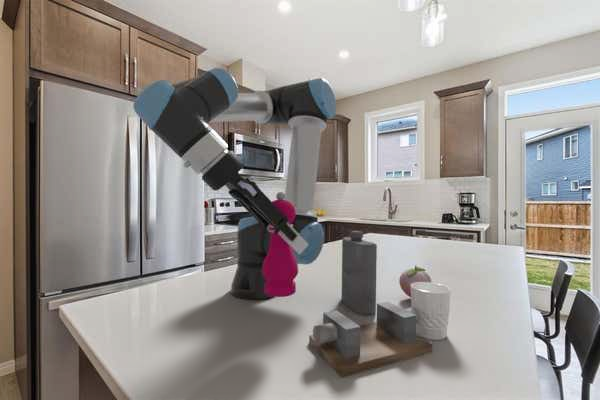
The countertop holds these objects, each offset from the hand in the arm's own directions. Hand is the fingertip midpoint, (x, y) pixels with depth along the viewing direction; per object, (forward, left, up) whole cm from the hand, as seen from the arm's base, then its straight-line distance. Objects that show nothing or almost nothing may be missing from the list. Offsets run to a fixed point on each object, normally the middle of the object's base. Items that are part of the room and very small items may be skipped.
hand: (297, 246), depth 60 cm
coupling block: (+9, +12, -19) cm, 24 cm away
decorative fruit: (-8, +41, -19) cm, 46 cm away
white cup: (+9, +28, -19) cm, 35 cm away
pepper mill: (0, -4, -9) cm, 10 cm away
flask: (-11, +23, -19) cm, 32 cm away
